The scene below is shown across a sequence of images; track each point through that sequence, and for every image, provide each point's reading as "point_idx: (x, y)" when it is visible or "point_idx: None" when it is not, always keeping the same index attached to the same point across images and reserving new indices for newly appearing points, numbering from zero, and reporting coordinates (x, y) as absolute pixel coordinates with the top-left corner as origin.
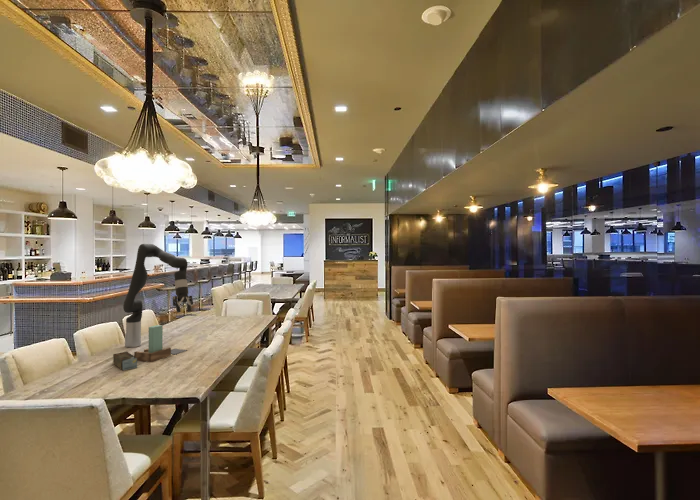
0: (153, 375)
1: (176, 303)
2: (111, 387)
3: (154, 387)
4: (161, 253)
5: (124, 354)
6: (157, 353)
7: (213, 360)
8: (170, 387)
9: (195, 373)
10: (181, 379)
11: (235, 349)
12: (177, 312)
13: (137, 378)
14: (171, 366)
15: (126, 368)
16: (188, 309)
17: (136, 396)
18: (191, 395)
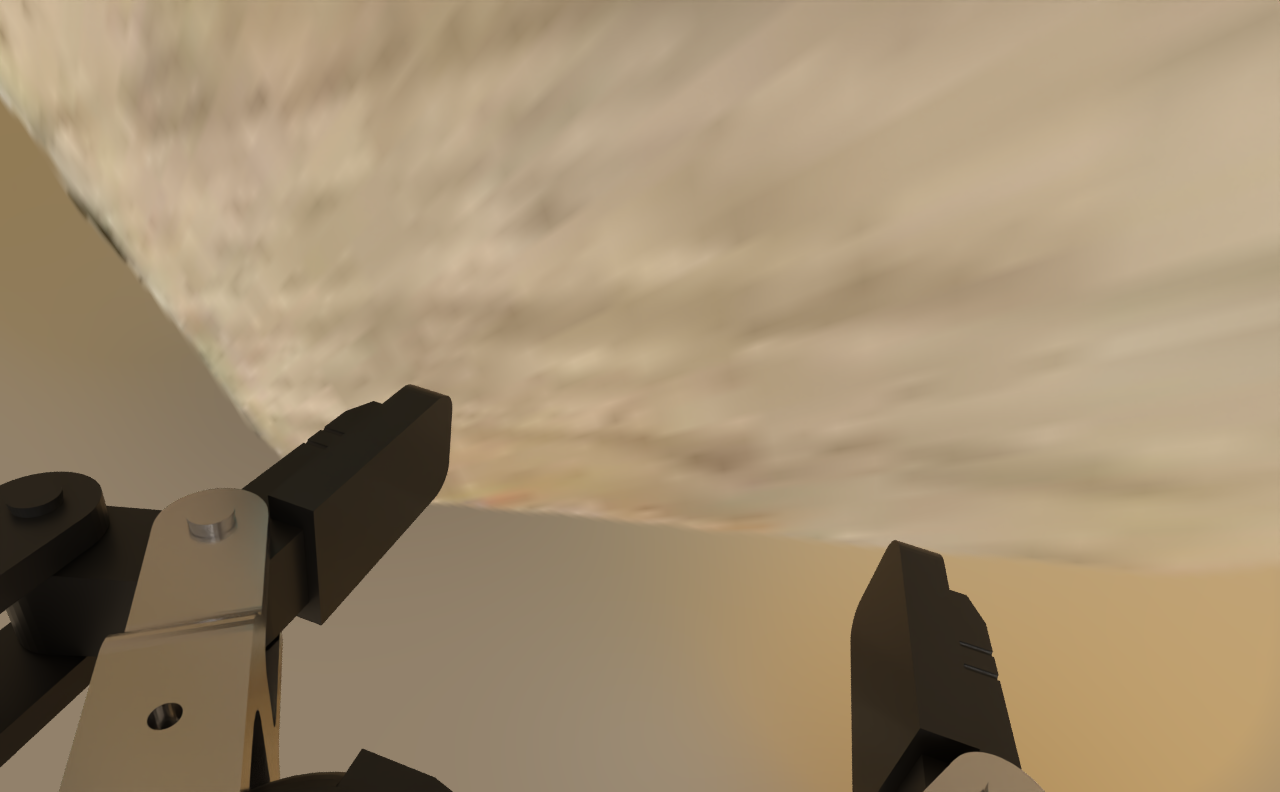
0: (312, 170)
1: (44, 667)
2: (75, 52)
3: (235, 295)
4: None
5: None
6: None
7: (735, 427)
8: (280, 363)
9: (461, 401)
10: (365, 368)
11: (1180, 528)
12: (413, 392)
13: (224, 97)
14: (500, 175)
15: None
16: (881, 638)
17: (149, 277)
18: None
